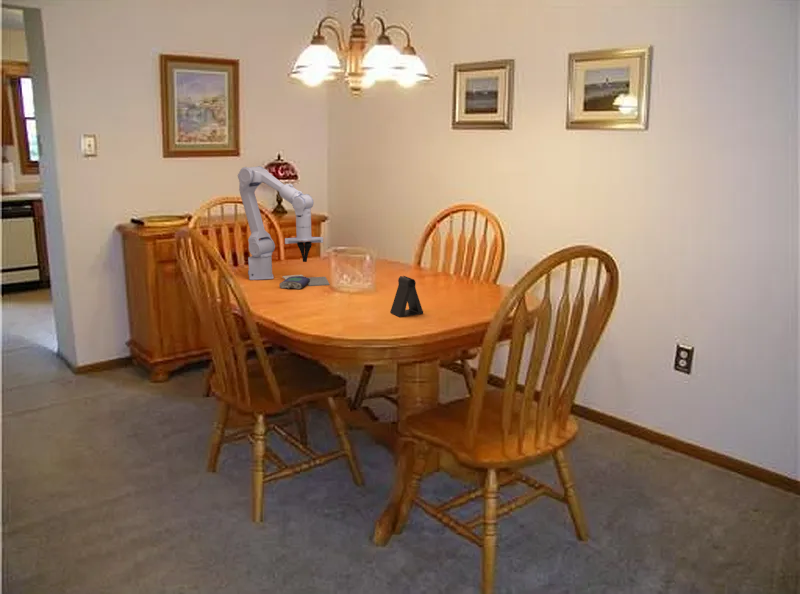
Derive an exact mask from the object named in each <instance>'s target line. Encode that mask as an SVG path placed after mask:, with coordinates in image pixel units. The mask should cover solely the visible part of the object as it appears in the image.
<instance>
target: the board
mask: <svg viewBox="0 0 800 594" xmlns="http://www.w3.org/2000/svg"><path fill="white" fill-rule="evenodd" d="M306 277H307V276H306ZM307 278H309V279H310V282H309V283H308V284H307V285H308V287H315V286H316V287H317V286H321V287H322V286H331V285H330V284H331V283H330V282H329V280H328V278H327V277H326V276H311V277H307Z"/></svg>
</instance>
